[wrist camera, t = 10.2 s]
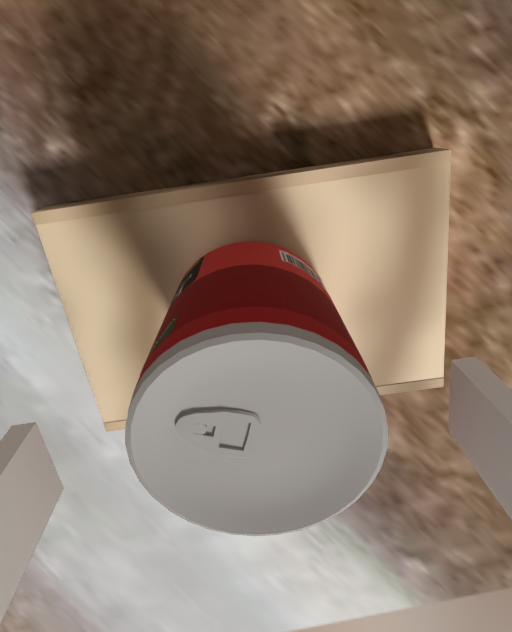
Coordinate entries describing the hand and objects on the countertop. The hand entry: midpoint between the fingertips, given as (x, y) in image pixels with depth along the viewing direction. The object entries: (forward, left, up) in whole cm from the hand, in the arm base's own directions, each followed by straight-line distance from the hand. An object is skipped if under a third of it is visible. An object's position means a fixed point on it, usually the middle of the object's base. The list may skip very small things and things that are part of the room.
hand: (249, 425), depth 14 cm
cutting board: (0, 0, -12) cm, 12 cm away
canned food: (0, 0, -10) cm, 10 cm away
